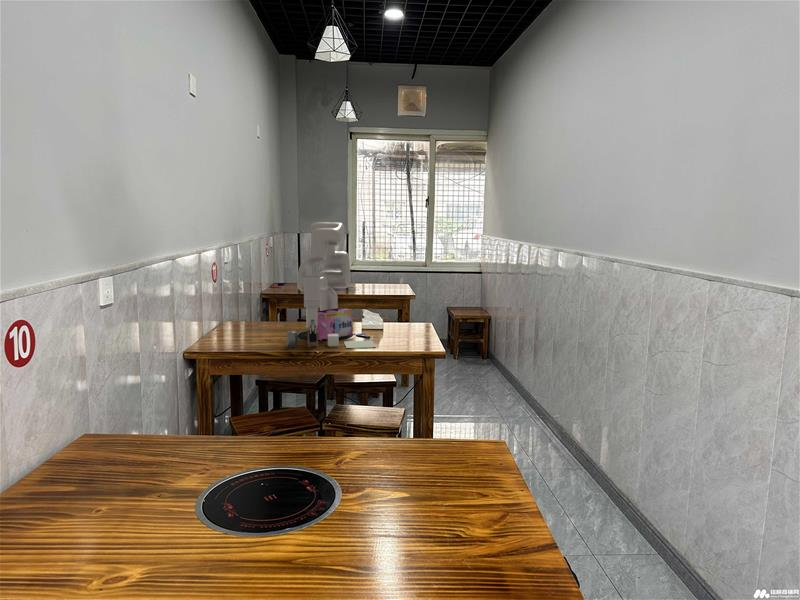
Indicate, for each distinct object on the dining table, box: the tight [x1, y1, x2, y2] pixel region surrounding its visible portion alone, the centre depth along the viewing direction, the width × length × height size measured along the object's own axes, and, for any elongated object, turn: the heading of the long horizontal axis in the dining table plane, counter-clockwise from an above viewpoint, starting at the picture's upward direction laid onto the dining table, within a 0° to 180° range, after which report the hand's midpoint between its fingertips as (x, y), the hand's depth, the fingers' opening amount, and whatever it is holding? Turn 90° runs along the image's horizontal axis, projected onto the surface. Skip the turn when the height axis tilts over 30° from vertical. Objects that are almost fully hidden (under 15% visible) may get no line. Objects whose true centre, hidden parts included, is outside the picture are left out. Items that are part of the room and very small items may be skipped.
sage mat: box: [343, 340, 377, 349], centre depth 266 cm, size 14×14×1 cm
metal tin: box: [286, 330, 299, 348], centre depth 261 cm, size 5×5×7 cm
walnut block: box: [306, 329, 319, 348], centre depth 263 cm, size 5×5×7 cm
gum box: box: [308, 307, 354, 341], centre depth 284 cm, size 24×8×14 cm, turn 135°
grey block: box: [326, 334, 340, 347], centre depth 265 cm, size 5×5×5 cm
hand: (312, 339), depth 263 cm, fingers open, 9 cm apart
